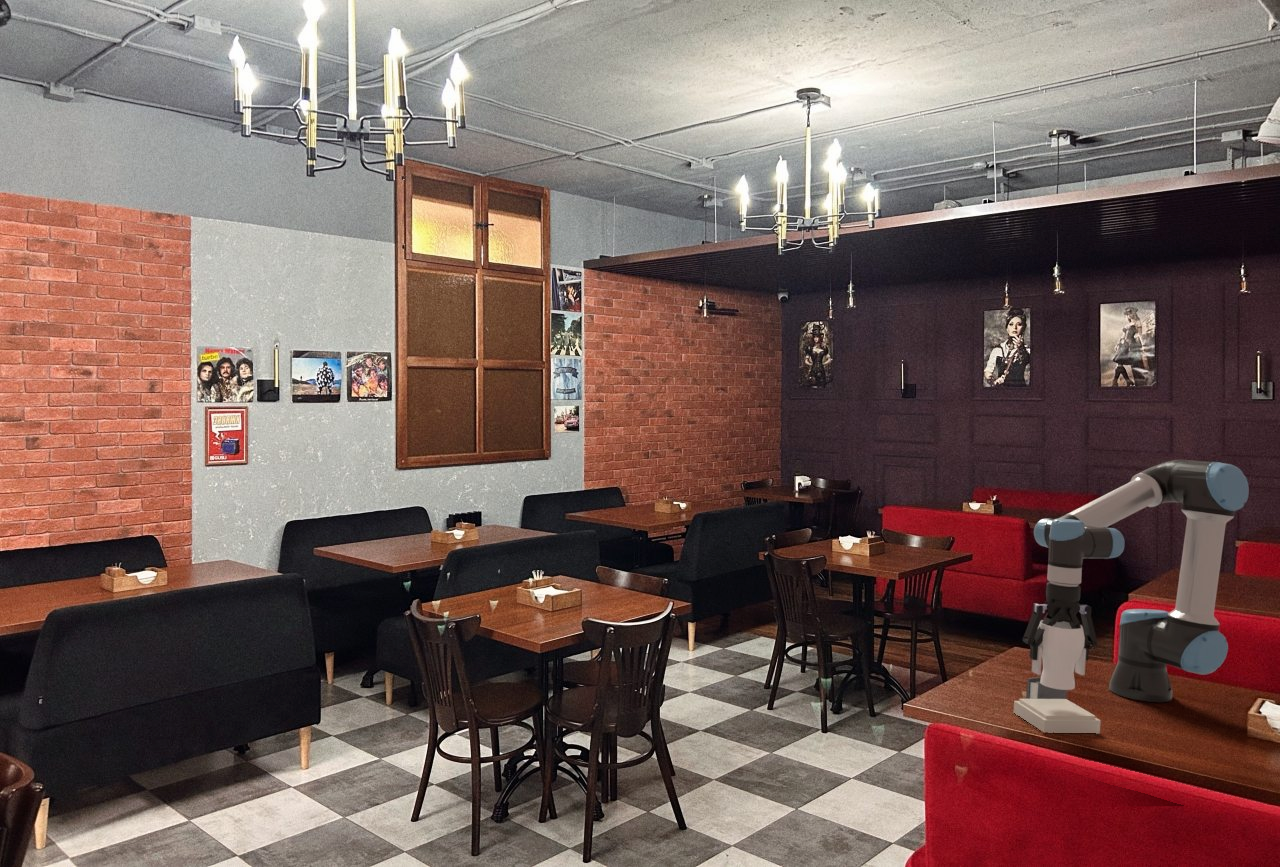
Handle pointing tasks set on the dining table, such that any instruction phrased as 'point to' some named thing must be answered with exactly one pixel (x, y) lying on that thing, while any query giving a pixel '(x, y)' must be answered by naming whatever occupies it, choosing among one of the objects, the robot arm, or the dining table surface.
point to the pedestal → (1057, 716)
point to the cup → (1060, 654)
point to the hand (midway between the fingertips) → (1058, 673)
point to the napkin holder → (1042, 690)
